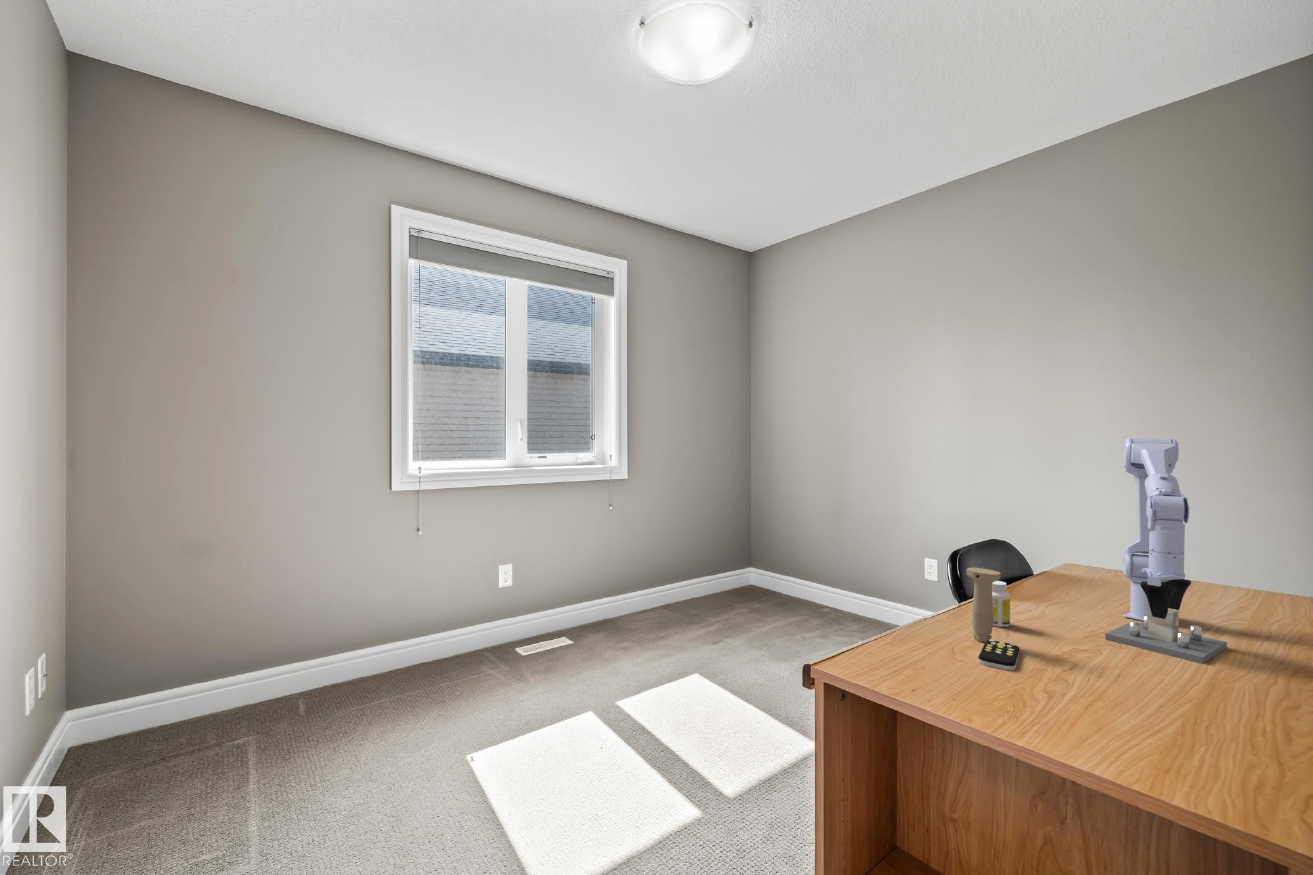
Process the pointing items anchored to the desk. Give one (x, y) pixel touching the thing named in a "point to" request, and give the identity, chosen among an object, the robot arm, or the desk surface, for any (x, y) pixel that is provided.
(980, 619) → the handle
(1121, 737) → the desk surface
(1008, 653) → the remote control
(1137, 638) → the peg board
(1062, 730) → the desk surface
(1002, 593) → the supplement bottle
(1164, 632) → the cream block
